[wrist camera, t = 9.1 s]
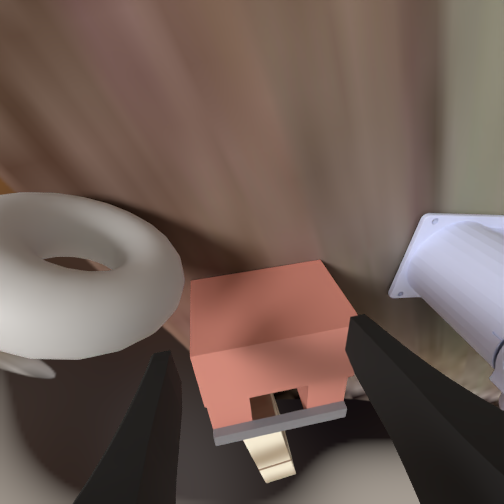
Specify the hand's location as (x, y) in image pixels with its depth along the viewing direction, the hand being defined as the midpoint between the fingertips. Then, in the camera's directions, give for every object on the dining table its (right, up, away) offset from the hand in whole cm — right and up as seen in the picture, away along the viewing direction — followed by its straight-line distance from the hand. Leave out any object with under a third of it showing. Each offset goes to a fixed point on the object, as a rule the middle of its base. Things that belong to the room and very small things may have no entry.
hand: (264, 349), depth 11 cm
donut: (-10, +6, +6) cm, 13 cm away
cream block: (0, -12, +19) cm, 23 cm away
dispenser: (0, -2, +13) cm, 14 cm away
